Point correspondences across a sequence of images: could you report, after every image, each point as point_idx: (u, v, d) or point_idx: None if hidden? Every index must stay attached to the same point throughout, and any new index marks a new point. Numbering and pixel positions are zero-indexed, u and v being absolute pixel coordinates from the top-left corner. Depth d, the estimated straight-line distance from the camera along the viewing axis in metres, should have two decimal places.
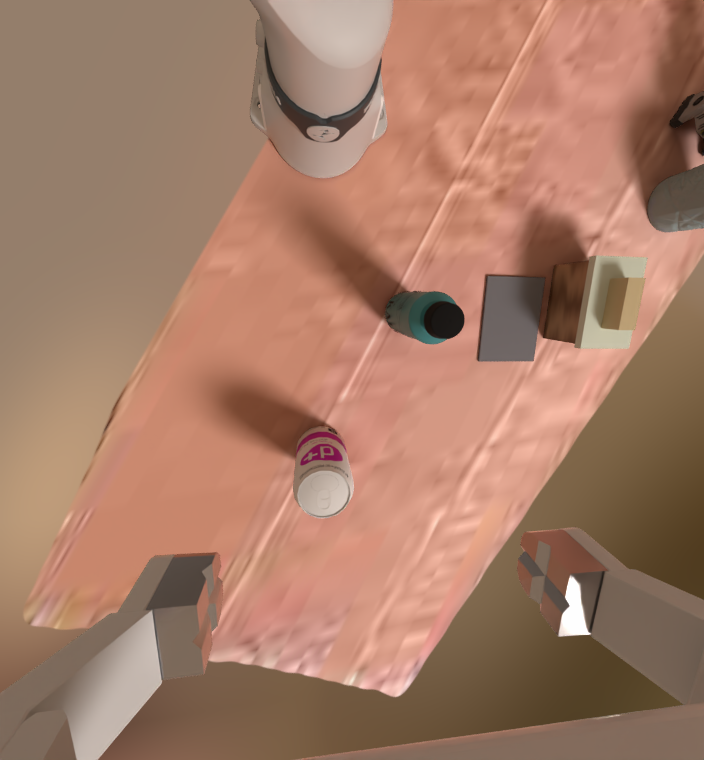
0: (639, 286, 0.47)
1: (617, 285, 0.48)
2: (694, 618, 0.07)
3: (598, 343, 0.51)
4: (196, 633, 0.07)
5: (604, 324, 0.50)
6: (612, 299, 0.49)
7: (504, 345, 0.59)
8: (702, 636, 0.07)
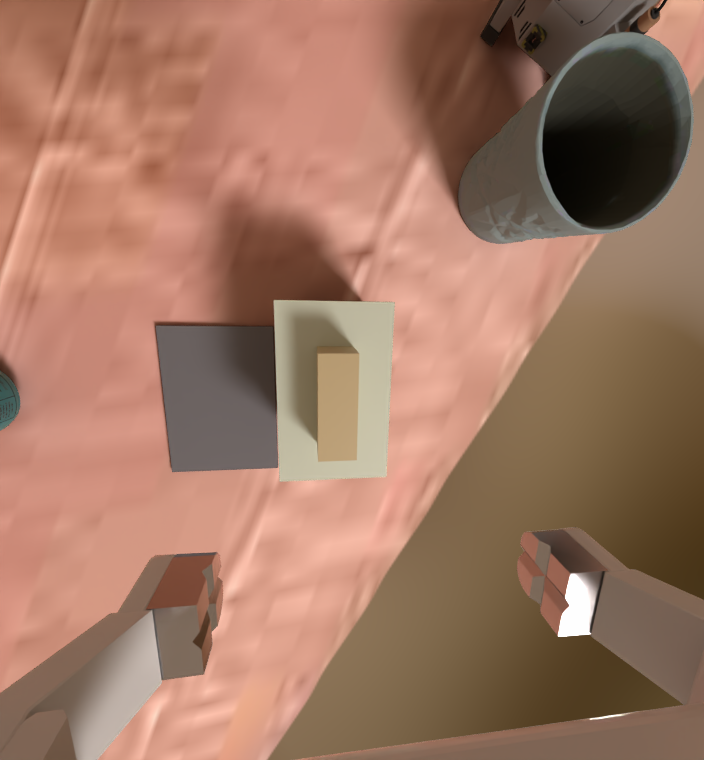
0: (348, 371, 0.21)
1: None
2: (694, 618, 0.07)
3: (317, 470, 0.26)
4: (196, 633, 0.07)
5: None
6: None
7: (216, 444, 0.33)
8: (702, 636, 0.07)
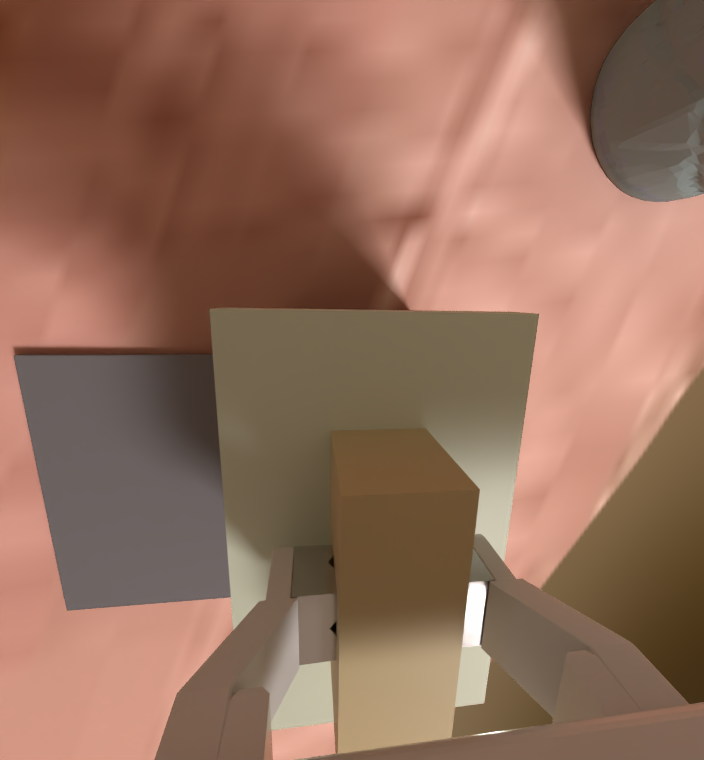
0: (440, 546, 0.06)
1: (334, 501, 0.08)
2: (563, 632, 0.06)
3: (331, 705, 0.11)
4: (334, 620, 0.07)
5: None
6: None
7: (144, 561, 0.19)
8: (570, 651, 0.06)
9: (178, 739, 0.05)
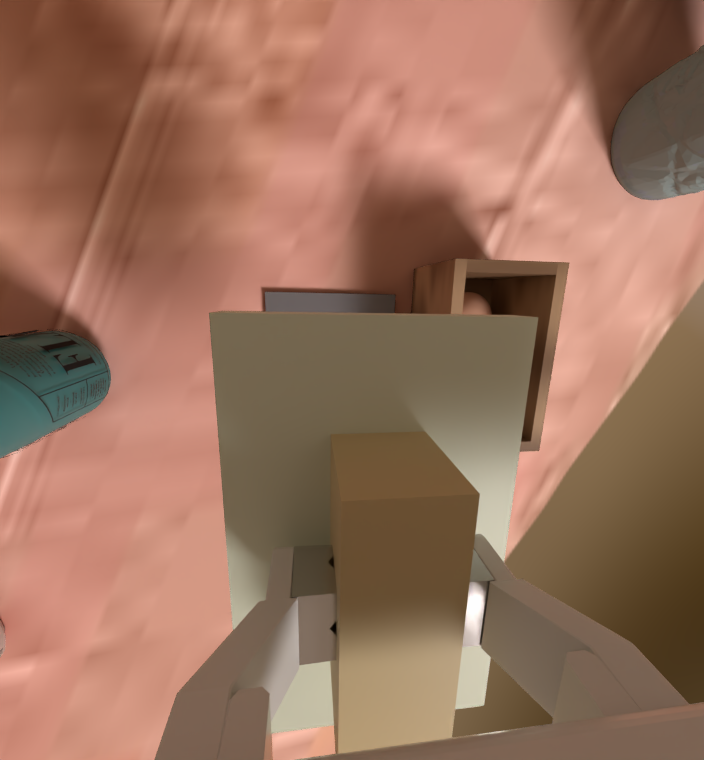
0: (440, 550, 0.06)
1: (334, 505, 0.08)
2: (563, 632, 0.06)
3: (330, 708, 0.11)
4: (334, 620, 0.07)
5: None
6: None
7: None
8: (570, 651, 0.06)
9: (178, 739, 0.05)
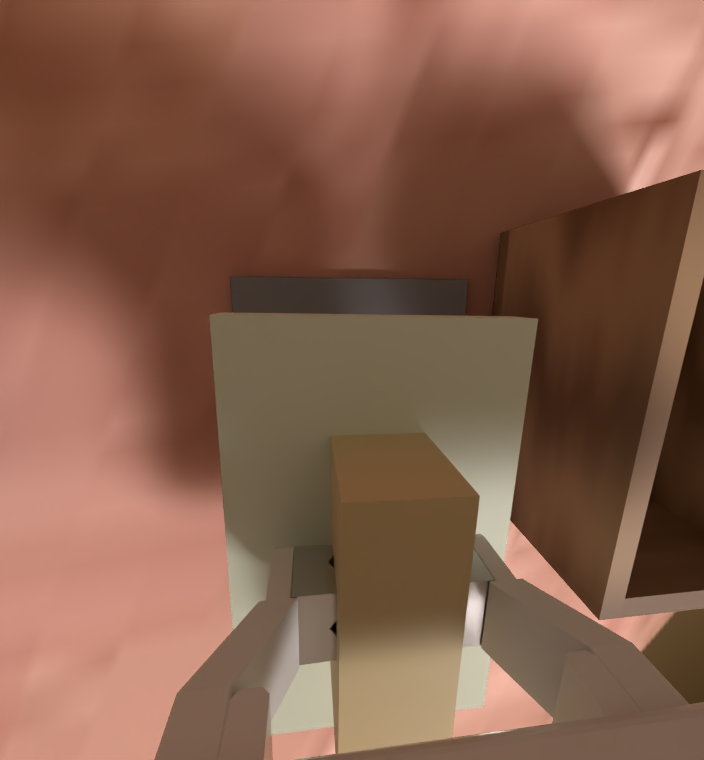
0: (439, 552, 0.06)
1: (334, 506, 0.08)
2: (562, 632, 0.06)
3: (330, 709, 0.11)
4: (334, 620, 0.07)
5: None
6: None
7: None
8: (570, 651, 0.06)
9: (178, 739, 0.05)
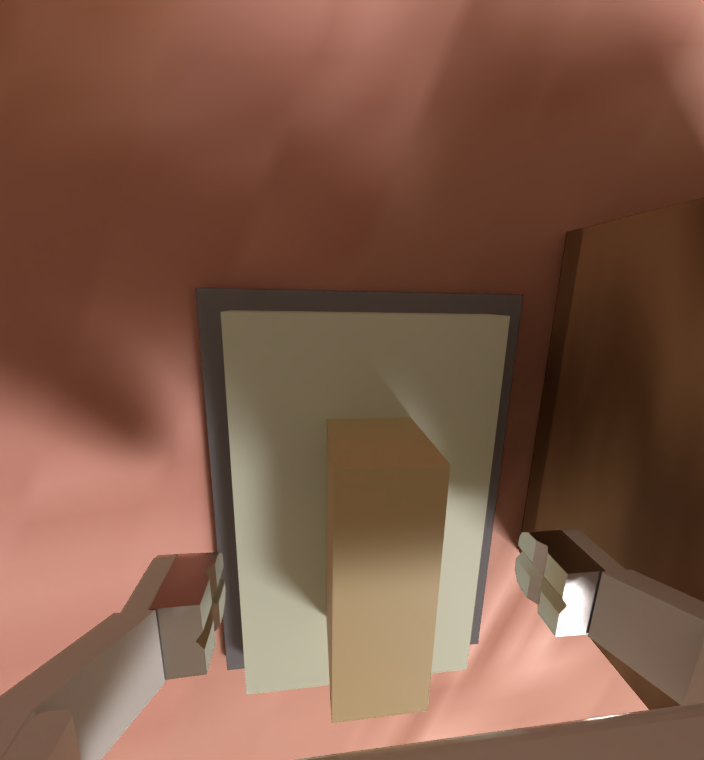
0: (417, 512, 0.08)
1: (329, 478, 0.09)
2: (691, 618, 0.07)
3: (327, 668, 0.12)
4: (199, 633, 0.07)
5: None
6: None
7: None
8: (699, 637, 0.07)
9: None
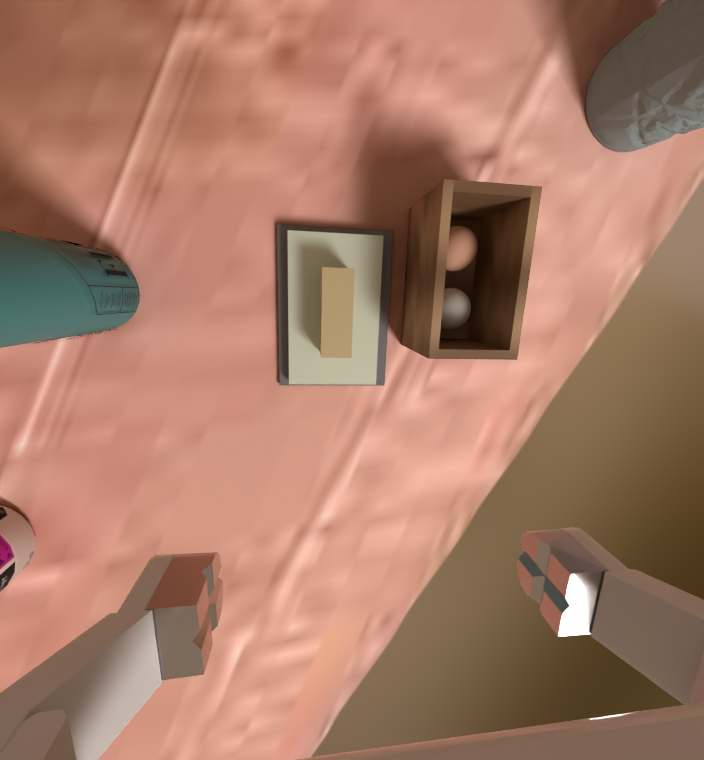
0: (345, 283, 0.27)
1: None
2: (694, 618, 0.07)
3: (320, 376, 0.31)
4: (196, 633, 0.07)
5: None
6: None
7: None
8: (703, 637, 0.07)
9: None
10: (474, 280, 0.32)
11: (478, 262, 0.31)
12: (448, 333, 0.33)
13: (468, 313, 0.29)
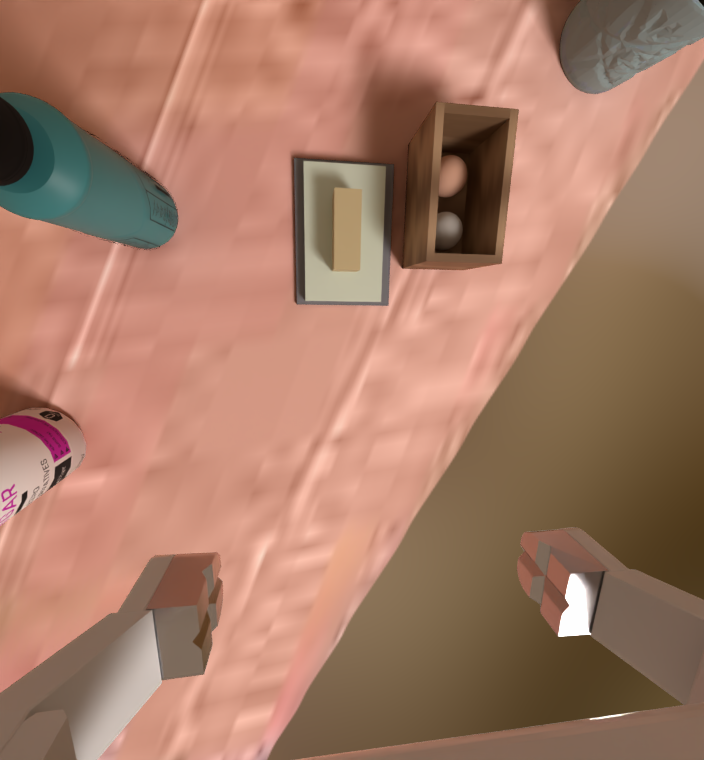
0: (354, 202, 0.32)
1: (333, 204, 0.33)
2: (694, 618, 0.07)
3: (332, 293, 0.36)
4: (196, 633, 0.07)
5: (332, 265, 0.35)
6: (332, 226, 0.34)
7: None
8: (702, 636, 0.07)
9: None
10: (465, 208, 0.36)
11: (468, 191, 0.36)
12: None
13: (460, 232, 0.34)
